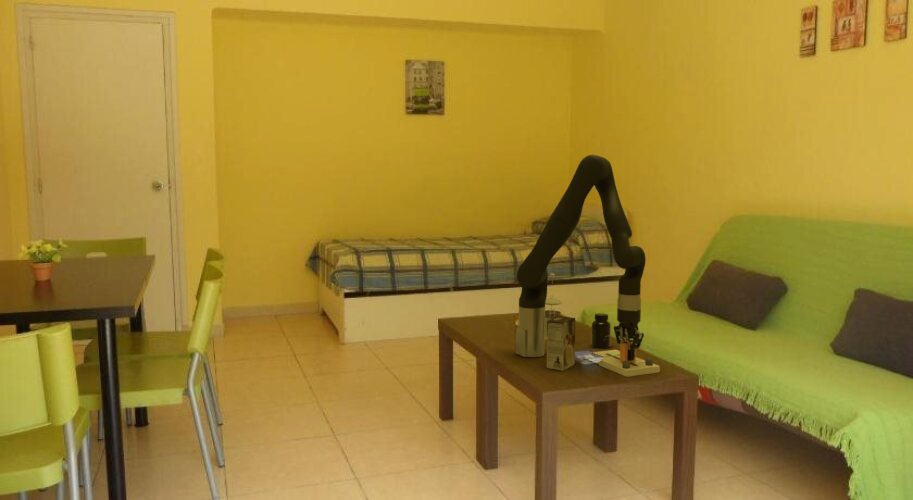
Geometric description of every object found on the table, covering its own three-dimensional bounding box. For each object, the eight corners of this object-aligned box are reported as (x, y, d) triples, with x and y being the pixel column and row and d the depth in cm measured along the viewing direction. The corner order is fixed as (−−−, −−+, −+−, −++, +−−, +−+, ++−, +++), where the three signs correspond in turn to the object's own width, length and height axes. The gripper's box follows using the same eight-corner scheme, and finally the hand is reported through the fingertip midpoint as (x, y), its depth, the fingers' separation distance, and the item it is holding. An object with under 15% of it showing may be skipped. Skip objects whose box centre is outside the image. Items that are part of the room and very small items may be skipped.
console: (626, 376, 244) (626, 364, 244) (584, 359, 266) (584, 347, 266) (659, 372, 250) (660, 360, 249) (615, 355, 271) (616, 344, 271)
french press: (563, 334, 304) (564, 271, 301) (564, 341, 293) (565, 275, 290) (538, 333, 305) (539, 271, 302) (538, 340, 294) (539, 275, 291)
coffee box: (557, 362, 262) (558, 315, 260) (575, 364, 259) (576, 317, 257) (546, 368, 255) (546, 320, 253) (563, 371, 251) (564, 322, 249)
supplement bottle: (610, 349, 280) (610, 316, 279) (590, 348, 282) (591, 315, 280) (610, 344, 287) (610, 312, 286) (591, 343, 288) (592, 312, 287)
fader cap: (624, 363, 252) (624, 345, 252) (619, 361, 255) (620, 343, 254) (635, 361, 254) (636, 343, 253) (630, 359, 256) (631, 342, 256)
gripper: (606, 304, 257) (605, 355, 259) (632, 312, 244) (631, 365, 246) (625, 302, 260) (624, 353, 262) (651, 310, 247) (650, 363, 249)
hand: (627, 358), depth 254 cm, fingers closed on fader cap, 2 cm apart
